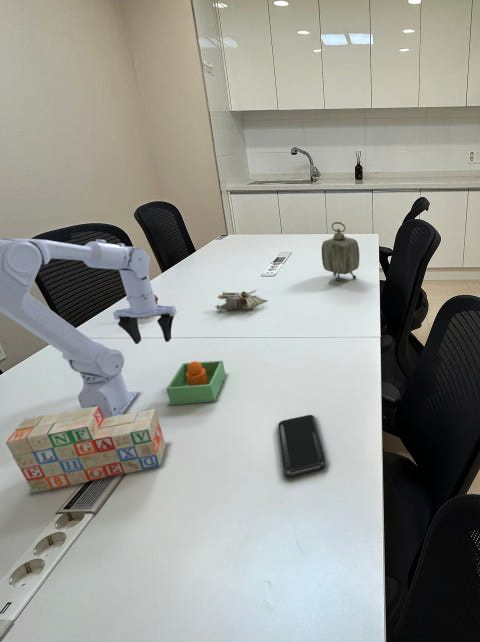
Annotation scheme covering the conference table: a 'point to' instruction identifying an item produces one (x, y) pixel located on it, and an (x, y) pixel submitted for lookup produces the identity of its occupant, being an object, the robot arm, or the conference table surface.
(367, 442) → the conference table surface
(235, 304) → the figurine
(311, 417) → the phone
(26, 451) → the stack of blocks
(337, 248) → the tabletop clock
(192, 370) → the cylinder
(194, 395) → the green bin
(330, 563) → the conference table surface
